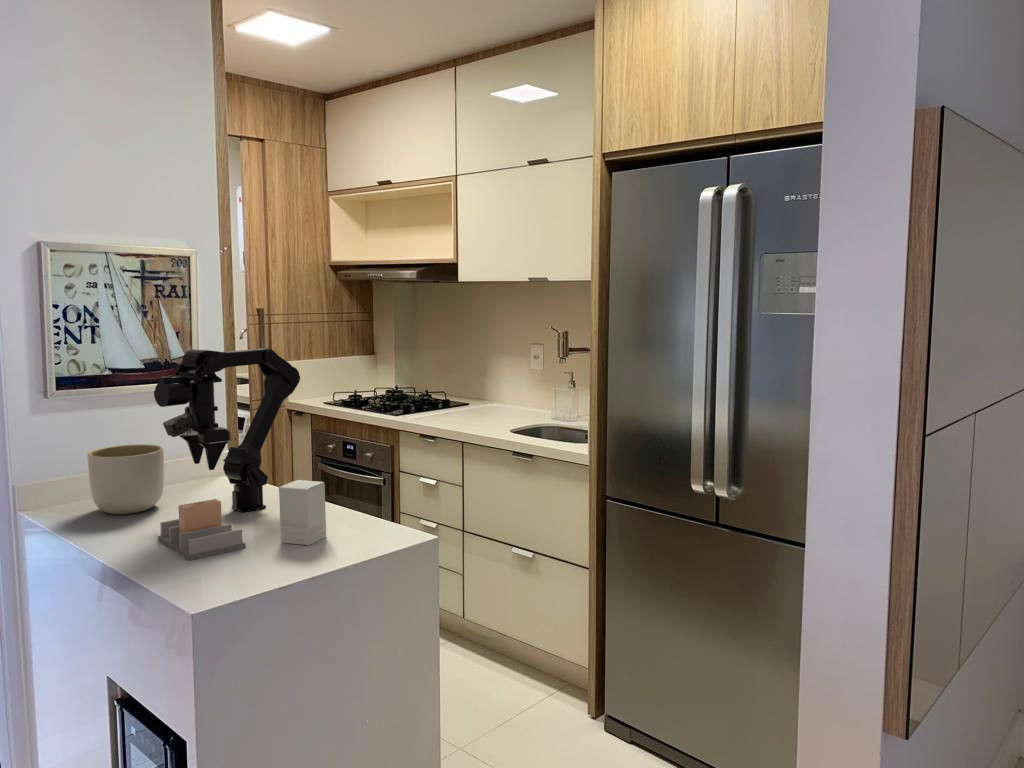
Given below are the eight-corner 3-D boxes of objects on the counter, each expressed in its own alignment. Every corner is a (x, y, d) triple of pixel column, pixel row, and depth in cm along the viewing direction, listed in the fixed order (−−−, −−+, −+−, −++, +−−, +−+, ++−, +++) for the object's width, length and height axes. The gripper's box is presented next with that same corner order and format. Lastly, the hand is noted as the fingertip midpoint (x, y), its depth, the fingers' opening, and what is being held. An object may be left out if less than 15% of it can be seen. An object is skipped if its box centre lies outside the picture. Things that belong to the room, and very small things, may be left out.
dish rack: (212, 529, 176) (211, 512, 175) (245, 547, 163) (244, 529, 162) (158, 540, 168) (157, 522, 167) (188, 560, 154) (187, 541, 154)
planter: (171, 512, 190) (168, 452, 188) (94, 523, 180) (90, 460, 179) (159, 497, 204) (157, 441, 202) (87, 506, 194) (84, 448, 193)
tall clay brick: (216, 534, 169) (215, 498, 168) (222, 537, 167) (221, 501, 166) (180, 541, 163) (178, 505, 163) (185, 544, 161) (183, 508, 160)
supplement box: (327, 536, 171) (326, 481, 169) (308, 546, 164) (306, 489, 162) (299, 533, 173) (297, 478, 172) (279, 542, 166) (277, 486, 165)
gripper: (152, 401, 182) (155, 465, 184) (180, 409, 168) (183, 478, 170) (199, 397, 189) (202, 459, 191) (230, 405, 176) (232, 471, 177)
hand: (204, 466), depth 182 cm, fingers open, 9 cm apart
